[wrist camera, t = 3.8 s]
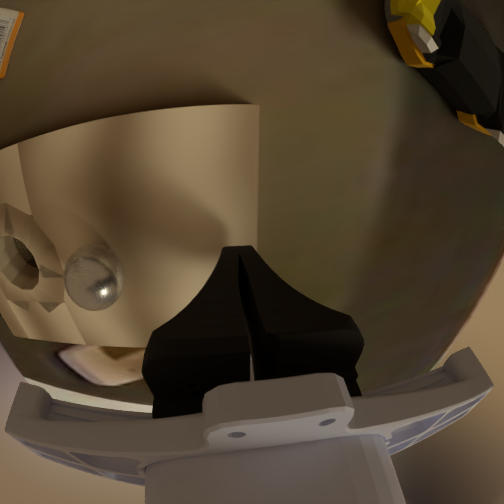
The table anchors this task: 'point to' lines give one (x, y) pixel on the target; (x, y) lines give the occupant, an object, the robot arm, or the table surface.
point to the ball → (94, 277)
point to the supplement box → (8, 35)
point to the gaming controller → (452, 58)
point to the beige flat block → (125, 216)
